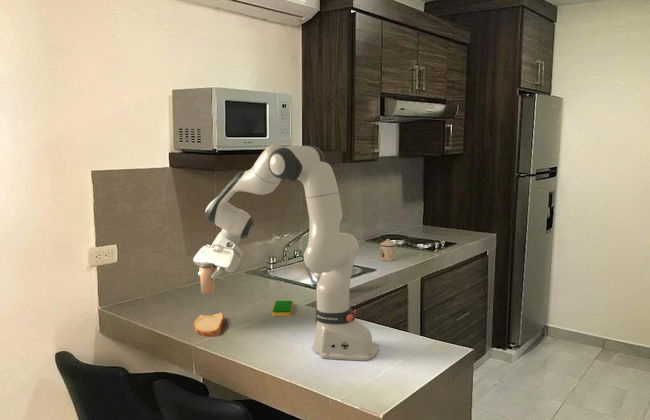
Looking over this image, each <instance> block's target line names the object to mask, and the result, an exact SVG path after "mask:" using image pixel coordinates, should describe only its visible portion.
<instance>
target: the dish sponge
mask: <svg viewBox="0 0 650 420" xmlns="http://www.w3.org/2000/svg"><path fill="white" fill-rule="evenodd" d="M293 303H294V302H293V300H275V302H274V306H273V309H272V316H273V317H290V316H292V315H291V314H292V309H293V305H294V304H293Z"/></svg>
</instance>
